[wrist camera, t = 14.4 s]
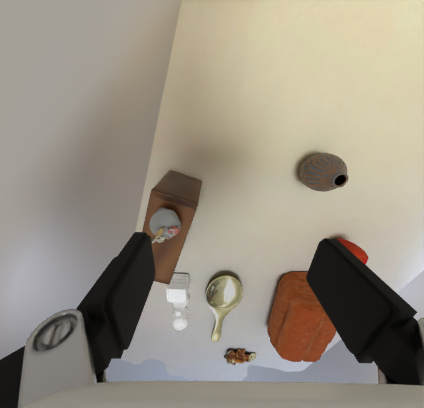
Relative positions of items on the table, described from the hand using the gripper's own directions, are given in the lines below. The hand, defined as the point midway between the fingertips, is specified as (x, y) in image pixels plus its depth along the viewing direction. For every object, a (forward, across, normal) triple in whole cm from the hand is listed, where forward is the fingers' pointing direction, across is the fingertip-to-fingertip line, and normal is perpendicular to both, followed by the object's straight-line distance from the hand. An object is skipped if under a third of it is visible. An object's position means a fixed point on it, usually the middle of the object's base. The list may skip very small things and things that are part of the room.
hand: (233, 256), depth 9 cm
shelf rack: (+27, +9, +12) cm, 31 cm away
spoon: (+27, -3, +47) cm, 54 cm away
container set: (+27, +9, +41) cm, 50 cm away
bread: (+27, -26, +42) cm, 57 cm away
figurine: (+16, +8, +7) cm, 19 cm away
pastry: (+27, -13, +73) cm, 79 cm away
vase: (+28, -20, +1) cm, 34 cm away
